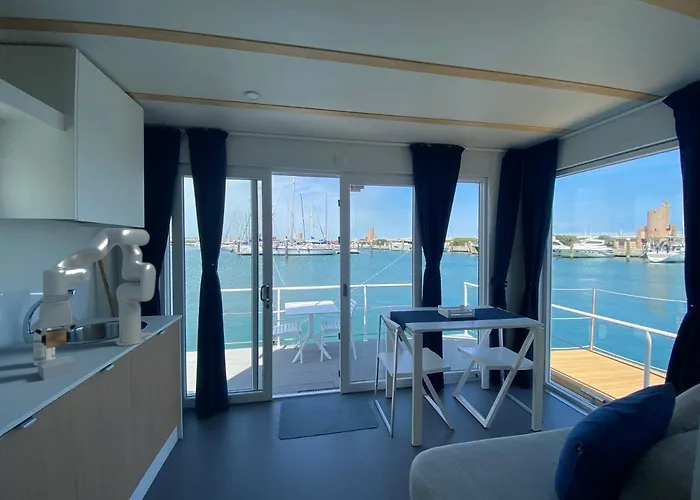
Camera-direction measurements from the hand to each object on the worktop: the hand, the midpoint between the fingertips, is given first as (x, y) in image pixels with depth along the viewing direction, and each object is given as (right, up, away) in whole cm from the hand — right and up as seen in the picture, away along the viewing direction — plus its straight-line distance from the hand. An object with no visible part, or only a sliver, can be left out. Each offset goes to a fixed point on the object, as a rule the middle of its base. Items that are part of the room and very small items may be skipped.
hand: (56, 342), depth 131 cm
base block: (0, -13, +1) cm, 13 cm away
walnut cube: (0, -1, 0) cm, 1 cm away
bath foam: (-14, -12, +10) cm, 22 cm away
